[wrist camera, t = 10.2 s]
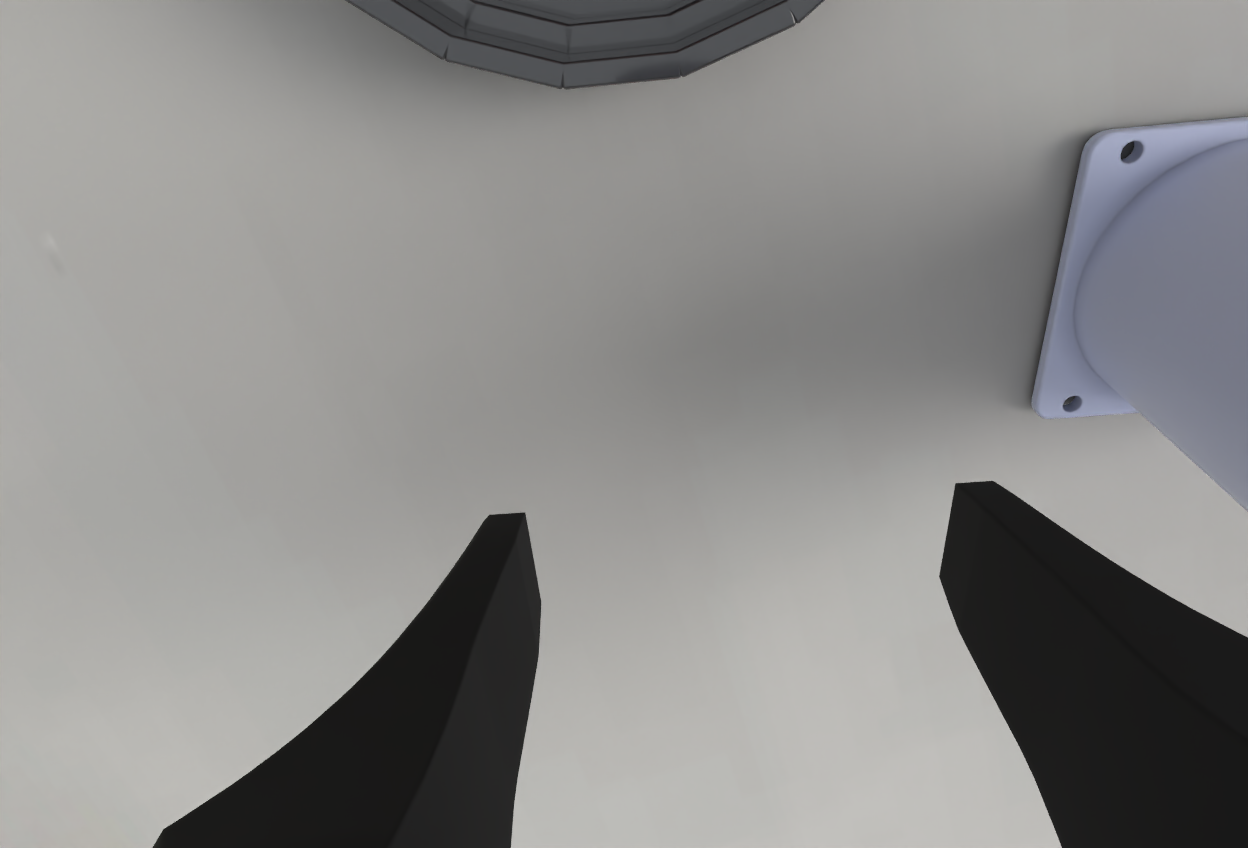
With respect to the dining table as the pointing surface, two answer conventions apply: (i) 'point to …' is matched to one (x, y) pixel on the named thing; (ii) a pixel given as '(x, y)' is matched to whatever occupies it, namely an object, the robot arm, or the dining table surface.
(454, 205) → the dining table surface
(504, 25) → the pan
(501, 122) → the dining table surface
